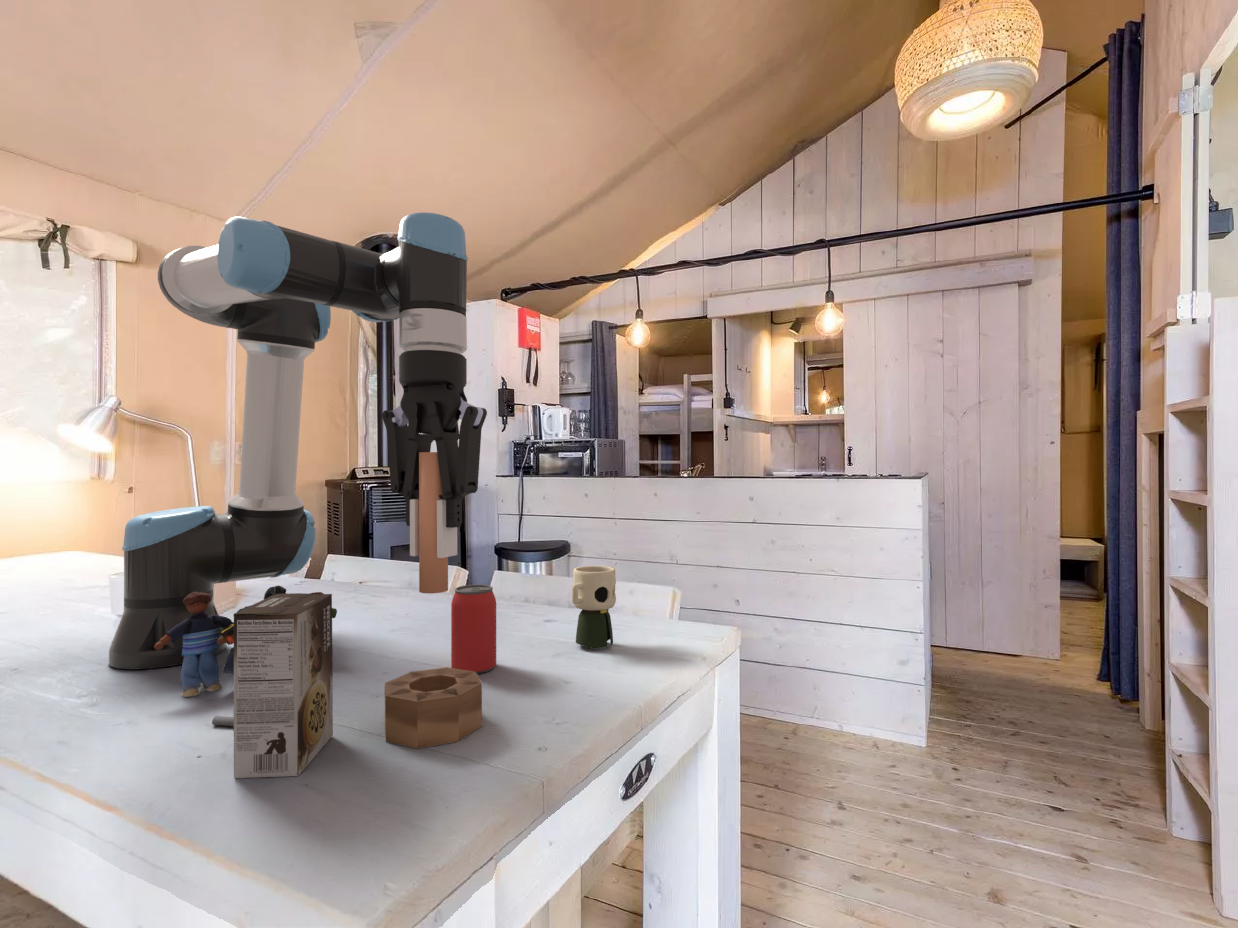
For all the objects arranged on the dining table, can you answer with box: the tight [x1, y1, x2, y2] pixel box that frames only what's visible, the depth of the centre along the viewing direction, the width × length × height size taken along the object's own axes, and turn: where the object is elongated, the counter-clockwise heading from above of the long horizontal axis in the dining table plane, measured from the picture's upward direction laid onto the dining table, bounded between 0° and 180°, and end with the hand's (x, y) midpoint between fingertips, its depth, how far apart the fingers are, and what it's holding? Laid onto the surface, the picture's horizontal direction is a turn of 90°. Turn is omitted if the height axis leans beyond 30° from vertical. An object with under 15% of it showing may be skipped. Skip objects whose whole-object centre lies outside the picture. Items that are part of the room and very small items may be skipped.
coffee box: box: [233, 592, 334, 779], centre depth 64 cm, size 9×6×16 cm
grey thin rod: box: [211, 715, 234, 727], centre depth 71 cm, size 10×1×1 cm, turn 83°
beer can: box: [450, 584, 497, 675], centre depth 92 cm, size 7×7×12 cm
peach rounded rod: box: [418, 451, 449, 594], centre depth 71 cm, size 3×3×16 cm
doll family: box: [154, 585, 338, 698], centre depth 88 cm, size 23×9×13 cm, turn 159°
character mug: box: [571, 565, 617, 649], centre depth 103 cm, size 11×7×13 cm, turn 143°
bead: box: [384, 667, 483, 749], centre depth 71 cm, size 10×10×5 cm
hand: (433, 554), depth 71 cm, fingers closed on peach rounded rod, 3 cm apart
